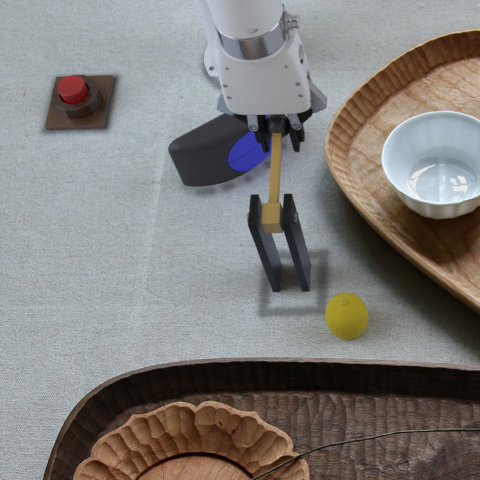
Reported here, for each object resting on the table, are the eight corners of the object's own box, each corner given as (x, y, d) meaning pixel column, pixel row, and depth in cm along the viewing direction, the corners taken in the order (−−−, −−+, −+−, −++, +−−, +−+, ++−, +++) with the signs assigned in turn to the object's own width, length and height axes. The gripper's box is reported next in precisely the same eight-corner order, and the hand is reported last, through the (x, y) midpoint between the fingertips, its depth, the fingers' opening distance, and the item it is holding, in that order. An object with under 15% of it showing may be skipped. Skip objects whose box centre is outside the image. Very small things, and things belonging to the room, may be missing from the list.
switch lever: (268, 122, 103) (263, 106, 100) (293, 122, 103) (289, 105, 100) (261, 235, 98) (256, 222, 95) (288, 234, 98) (283, 221, 95)
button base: (58, 79, 127) (51, 67, 125) (114, 78, 127) (108, 66, 124) (46, 130, 123) (39, 118, 121) (104, 129, 123) (98, 117, 121)
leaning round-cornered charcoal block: (197, 206, 117) (178, 163, 108) (182, 185, 118) (162, 141, 109) (294, 153, 119) (282, 107, 111) (278, 133, 121) (266, 86, 112)
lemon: (340, 356, 106) (333, 327, 99) (322, 323, 108) (314, 293, 101) (378, 338, 107) (373, 308, 100) (359, 305, 109) (353, 274, 102)
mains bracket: (267, 255, 113) (239, 178, 97) (324, 254, 113) (305, 177, 97) (262, 312, 109) (233, 242, 94) (321, 311, 109) (301, 240, 94)
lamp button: (64, 84, 124) (59, 75, 122) (90, 83, 124) (85, 74, 122) (60, 104, 122) (55, 96, 121) (86, 103, 122) (81, 95, 121)
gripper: (329, -1, 88) (347, 119, 105) (180, 4, 89) (221, 122, 106) (326, 51, 85) (345, 166, 102) (171, 56, 86) (216, 169, 103)
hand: (282, 142), depth 104 cm, fingers closed on switch lever, 3 cm apart
